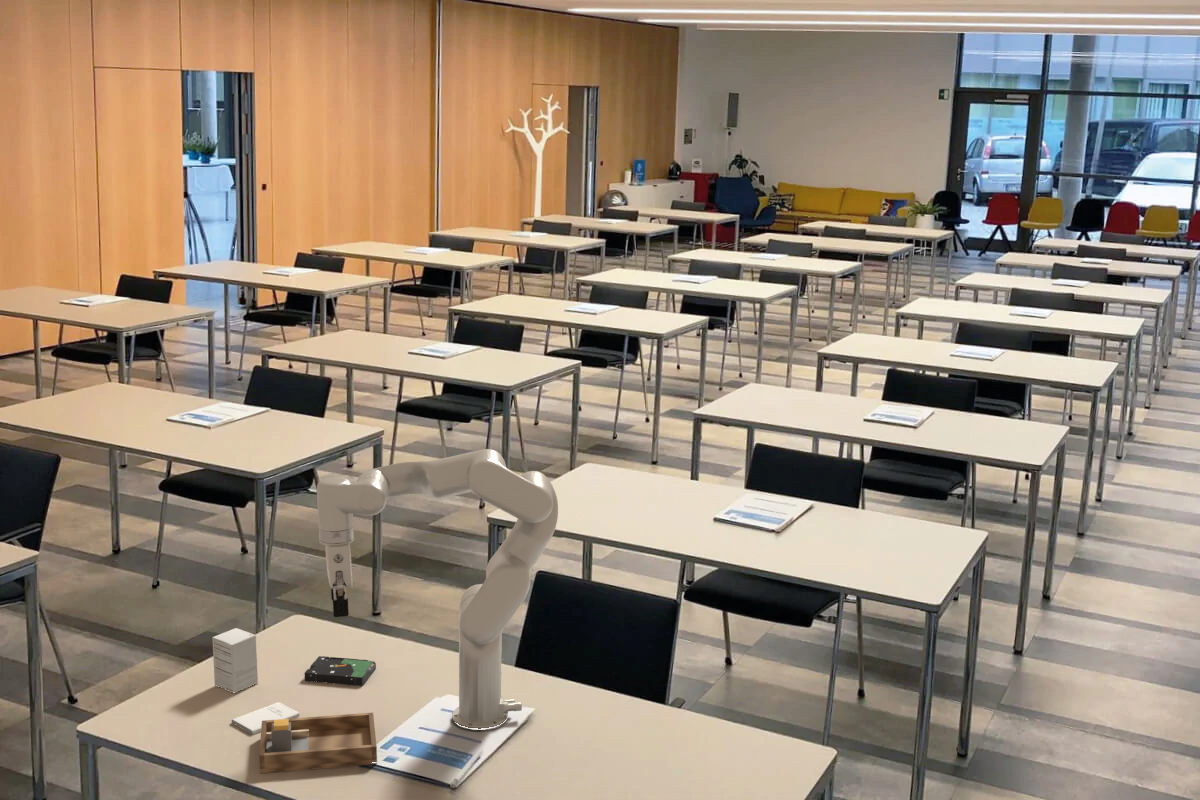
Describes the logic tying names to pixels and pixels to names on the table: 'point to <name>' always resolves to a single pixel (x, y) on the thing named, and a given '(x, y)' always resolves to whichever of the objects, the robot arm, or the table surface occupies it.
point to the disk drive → (340, 671)
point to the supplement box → (235, 660)
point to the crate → (321, 743)
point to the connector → (281, 736)
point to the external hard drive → (264, 717)
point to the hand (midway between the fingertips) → (340, 607)
